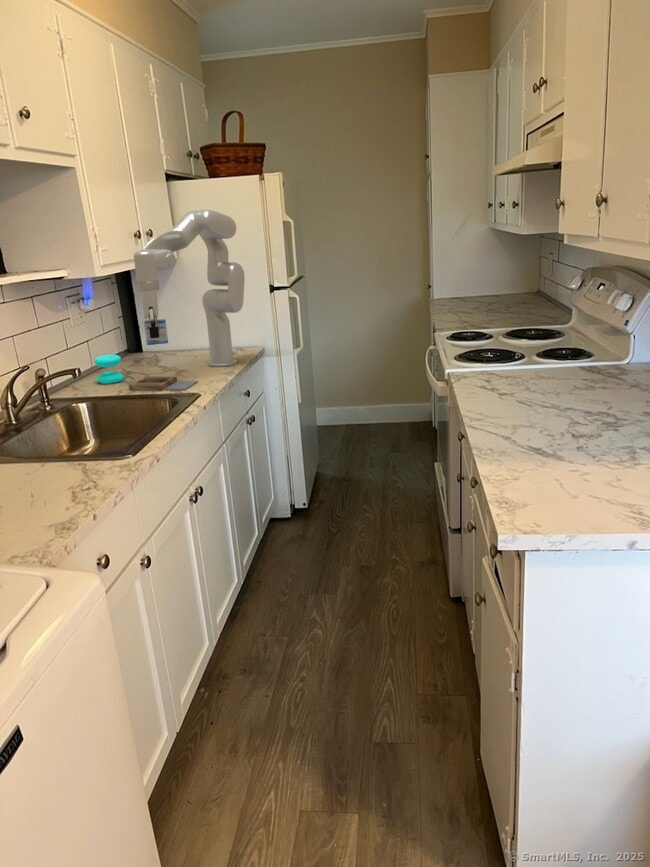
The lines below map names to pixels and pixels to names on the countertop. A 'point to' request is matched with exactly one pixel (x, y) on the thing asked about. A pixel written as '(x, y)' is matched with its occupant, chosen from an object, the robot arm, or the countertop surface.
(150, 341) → the medicine box
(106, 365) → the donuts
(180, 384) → the slate mat
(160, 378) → the board
